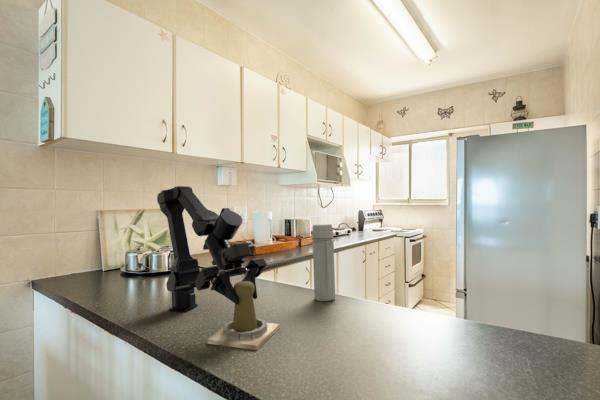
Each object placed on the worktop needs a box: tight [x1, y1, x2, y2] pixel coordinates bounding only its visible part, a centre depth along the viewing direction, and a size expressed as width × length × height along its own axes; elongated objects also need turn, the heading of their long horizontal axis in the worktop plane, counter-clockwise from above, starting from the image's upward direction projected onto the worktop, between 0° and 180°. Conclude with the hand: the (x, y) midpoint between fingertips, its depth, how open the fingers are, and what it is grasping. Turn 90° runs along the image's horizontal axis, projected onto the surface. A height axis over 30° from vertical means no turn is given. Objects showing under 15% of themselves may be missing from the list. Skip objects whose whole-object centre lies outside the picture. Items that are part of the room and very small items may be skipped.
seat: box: [206, 317, 281, 351], centre depth 76 cm, size 13×13×2 cm
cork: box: [232, 280, 257, 332], centre depth 77 cm, size 6×6×11 cm
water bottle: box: [311, 223, 336, 302], centre depth 104 cm, size 9×8×25 cm
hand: (247, 300), depth 76 cm, fingers closed on cork, 5 cm apart
